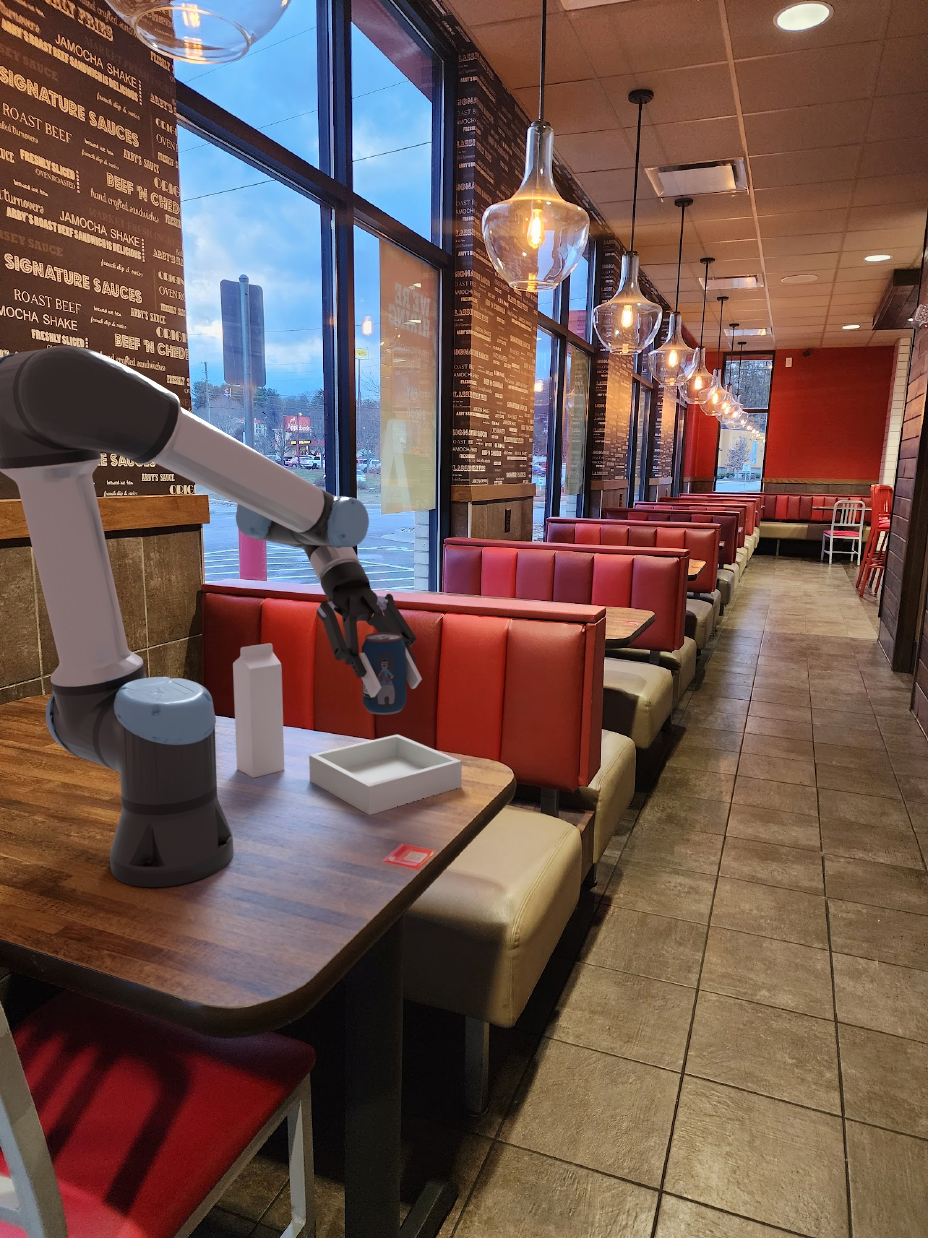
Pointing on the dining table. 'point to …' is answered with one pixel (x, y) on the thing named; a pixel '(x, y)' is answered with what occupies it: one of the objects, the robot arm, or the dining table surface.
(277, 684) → the milk
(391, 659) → the soda can
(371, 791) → the box
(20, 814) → the dining table surface
